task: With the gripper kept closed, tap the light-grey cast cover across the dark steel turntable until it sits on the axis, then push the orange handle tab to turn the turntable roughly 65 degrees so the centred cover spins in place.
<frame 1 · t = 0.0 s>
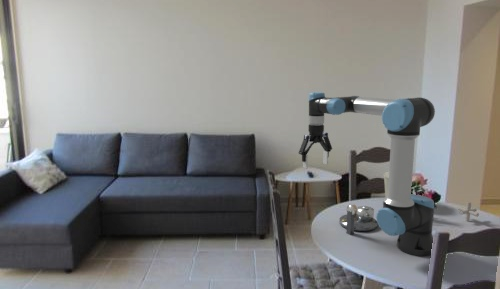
hand: (315, 165, 193), 28 cm above the table, fingers open, 13 cm apart
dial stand: (350, 233, 180), on the table
cover: (365, 218, 192), point 2 cm above the table, touching turntable
pipe connector: (467, 221, 192), on the table
turntable: (357, 217, 190), point 3 cm above the table, hinge at 0.0°, touching cover
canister: (398, 204, 217), on the table
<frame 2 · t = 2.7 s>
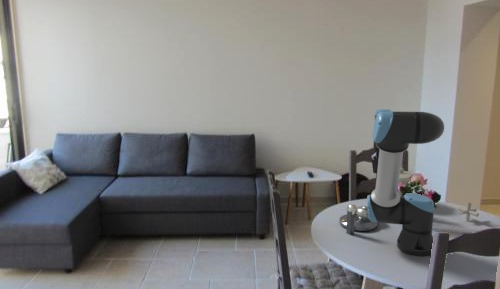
hand: (379, 186, 194), 17 cm above the table, fingers closed
nothing on the table moved.
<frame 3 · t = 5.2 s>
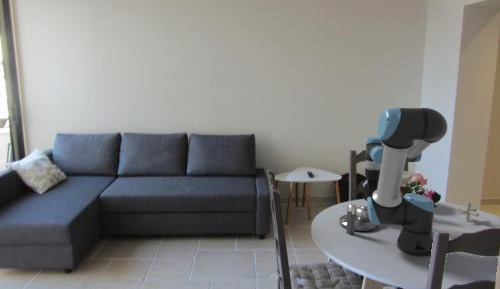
hand: (370, 213, 194), 4 cm above the table, fingers closed
cover: (364, 218, 192), point 2 cm above the table, touching gripper
turntable: (357, 217, 190), point 3 cm above the table, hinge at 0.0°
everything else where it was.
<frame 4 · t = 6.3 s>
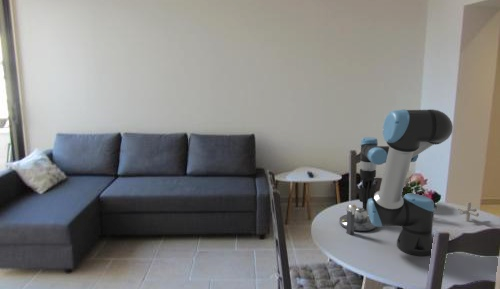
hand: (365, 214, 192), 4 cm above the table, fingers closed
cover: (358, 220, 190), point 2 cm above the table, touching gripper, turntable
turntable: (357, 217, 190), point 3 cm above the table, hinge at 0.0°, touching cover
everything else where it was.
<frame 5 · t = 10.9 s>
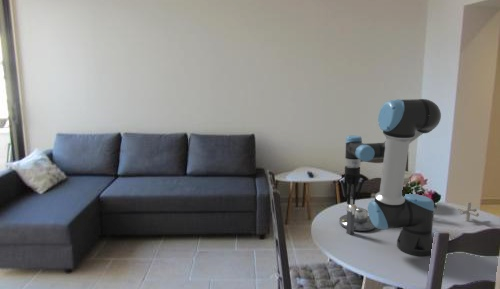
hand: (350, 210, 198), 4 cm above the table, fingers closed
cover: (358, 220, 190), point 2 cm above the table, touching turntable
turntable: (357, 217, 190), point 3 cm above the table, hinge at -0.2°, touching cover, gripper
everything else where it was.
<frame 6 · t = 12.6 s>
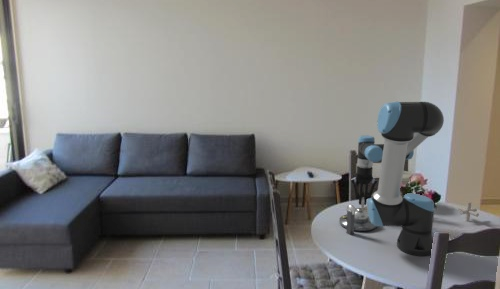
hand: (362, 210, 198), 4 cm above the table, fingers closed
turntable: (358, 217, 190), point 3 cm above the table, hinge at -38.0°, touching cover, gripper
everything else where it was.
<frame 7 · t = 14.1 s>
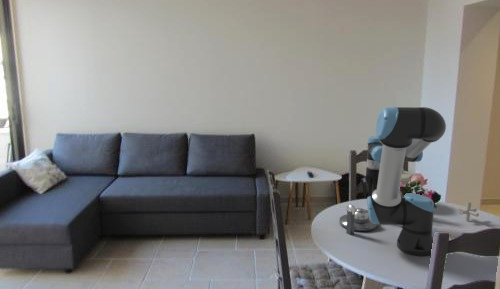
hand: (371, 212, 195), 4 cm above the table, fingers closed
turntable: (358, 217, 190), point 3 cm above the table, hinge at -66.5°, touching cover, gripper
everything else where it was.
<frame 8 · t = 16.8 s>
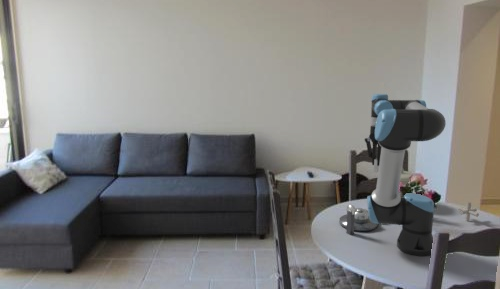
hand: (376, 171, 194), 24 cm above the table, fingers closed
turntable: (358, 217, 190), point 3 cm above the table, hinge at -66.5°, touching cover
everything else where it was.
at the end: cover 0.8 cm from the turntable (horizontally); turntable at -66° (first picture: +0°); cover tilted 0° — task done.
